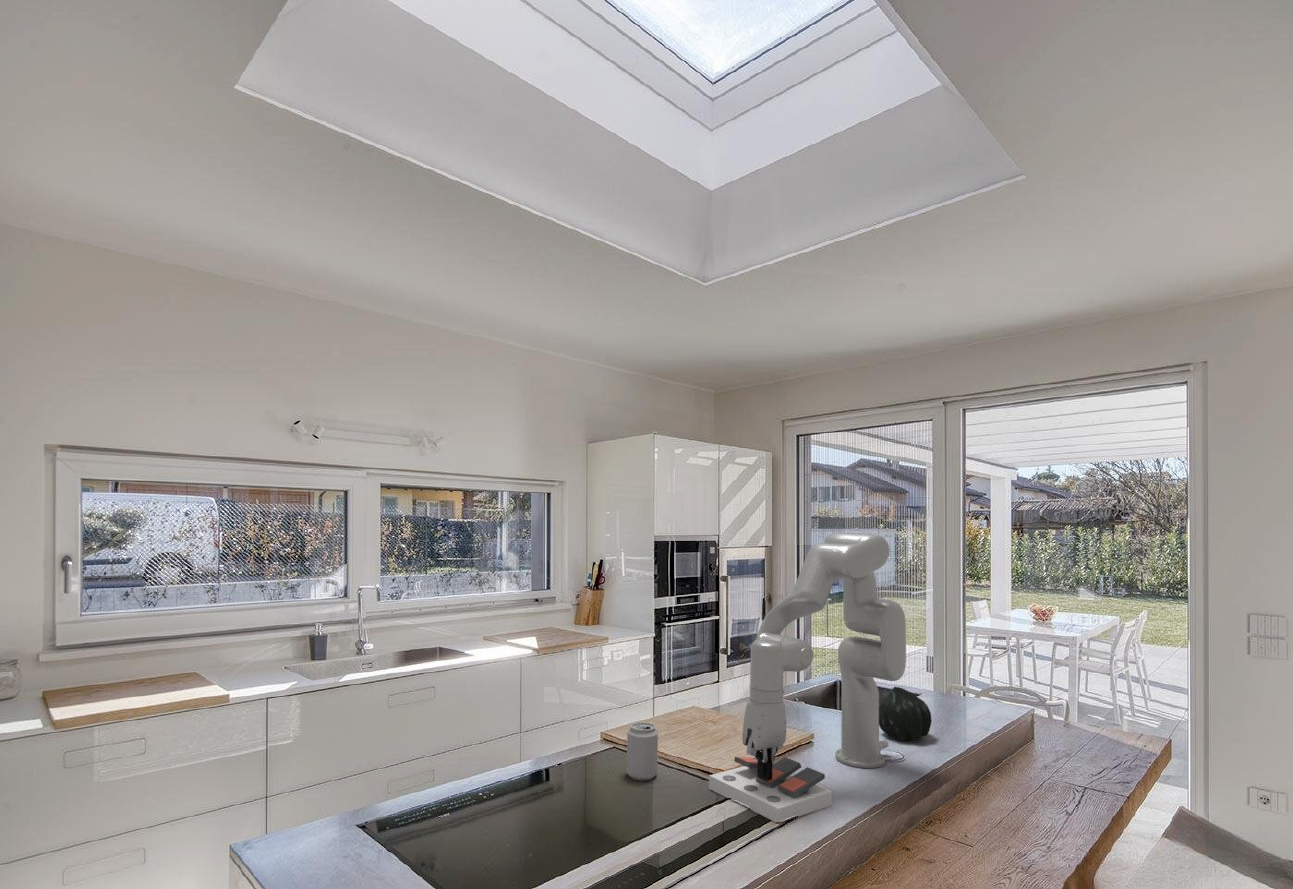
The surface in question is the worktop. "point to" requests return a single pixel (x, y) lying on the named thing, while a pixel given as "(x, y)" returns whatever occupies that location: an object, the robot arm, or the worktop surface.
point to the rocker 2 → (801, 782)
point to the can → (642, 751)
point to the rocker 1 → (747, 761)
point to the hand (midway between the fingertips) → (764, 778)
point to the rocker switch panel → (767, 794)
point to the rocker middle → (780, 771)
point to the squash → (904, 715)
